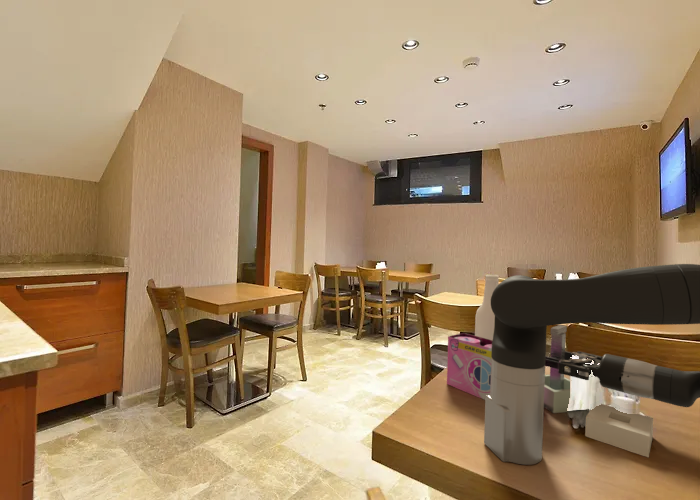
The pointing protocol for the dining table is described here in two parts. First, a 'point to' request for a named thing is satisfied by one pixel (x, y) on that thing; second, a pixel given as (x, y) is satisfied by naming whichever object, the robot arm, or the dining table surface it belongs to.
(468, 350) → the gum box
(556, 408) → the bin
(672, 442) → the dining table surface
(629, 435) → the key block
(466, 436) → the dining table surface
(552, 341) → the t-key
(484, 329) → the alcohol
